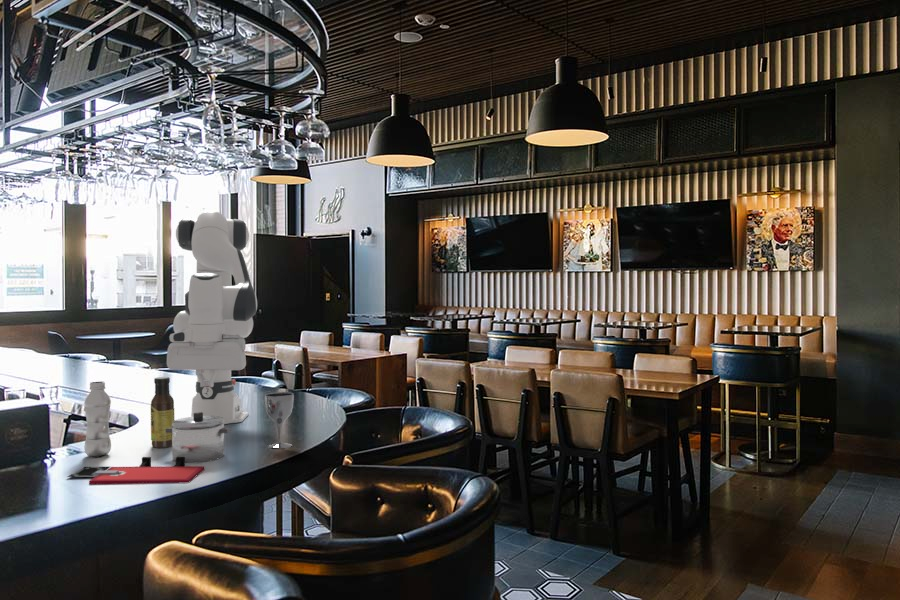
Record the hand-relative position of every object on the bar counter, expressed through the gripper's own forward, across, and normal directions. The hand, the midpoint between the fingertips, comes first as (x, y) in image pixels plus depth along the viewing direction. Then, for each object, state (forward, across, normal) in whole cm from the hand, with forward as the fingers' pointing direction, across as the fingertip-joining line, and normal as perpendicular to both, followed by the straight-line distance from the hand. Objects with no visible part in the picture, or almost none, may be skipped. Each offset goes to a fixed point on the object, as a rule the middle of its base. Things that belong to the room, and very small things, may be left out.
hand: (206, 386), depth 172 cm
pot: (+19, +4, -3) cm, 20 cm away
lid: (+11, +4, -3) cm, 12 cm away
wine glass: (+20, -14, -16) cm, 29 cm away
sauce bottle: (+20, +20, -15) cm, 32 cm away
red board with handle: (+20, +11, +15) cm, 27 cm away
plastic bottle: (+20, +32, -3) cm, 38 cm away
